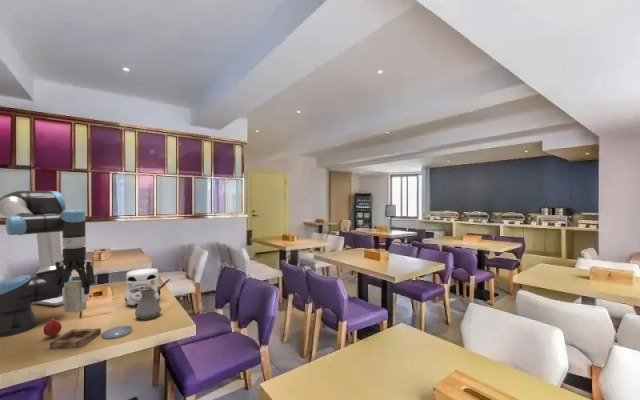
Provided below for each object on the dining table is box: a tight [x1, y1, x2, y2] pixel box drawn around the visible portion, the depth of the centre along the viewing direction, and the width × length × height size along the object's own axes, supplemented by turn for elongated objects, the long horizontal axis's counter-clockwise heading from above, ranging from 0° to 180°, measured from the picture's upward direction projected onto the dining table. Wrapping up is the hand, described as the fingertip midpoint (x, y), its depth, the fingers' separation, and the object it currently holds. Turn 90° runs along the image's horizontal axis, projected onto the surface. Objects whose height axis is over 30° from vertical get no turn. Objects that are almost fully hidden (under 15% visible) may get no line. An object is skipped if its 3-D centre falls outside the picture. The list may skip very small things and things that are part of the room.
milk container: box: [124, 267, 161, 307], centre depth 172 cm, size 17×17×18 cm
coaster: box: [101, 325, 133, 340], centre depth 134 cm, size 11×11×1 cm
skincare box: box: [63, 279, 87, 313], centre depth 127 cm, size 6×4×12 cm
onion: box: [43, 318, 63, 338], centre depth 131 cm, size 6×6×8 cm
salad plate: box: [32, 296, 64, 307], centre depth 179 cm, size 21×21×3 cm
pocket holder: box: [48, 328, 102, 350], centre depth 127 cm, size 12×12×2 cm
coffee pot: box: [134, 278, 172, 321], centre depth 158 cm, size 21×12×15 cm, turn 166°
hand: (75, 302), depth 127 cm, fingers closed on skincare box, 7 cm apart
